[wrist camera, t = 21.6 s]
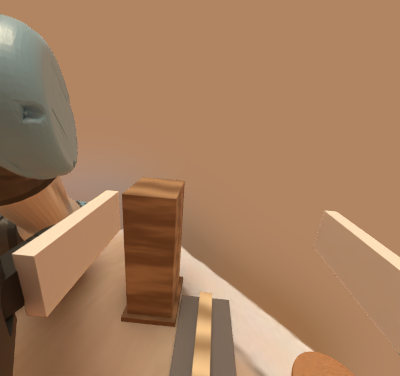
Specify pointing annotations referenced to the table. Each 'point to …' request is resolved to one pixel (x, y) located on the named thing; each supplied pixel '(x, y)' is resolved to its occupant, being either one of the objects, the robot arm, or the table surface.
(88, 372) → the table surface
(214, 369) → the rubber mat
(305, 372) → the lidded jar
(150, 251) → the walnut pedestal
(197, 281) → the table surface
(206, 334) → the maple bar
